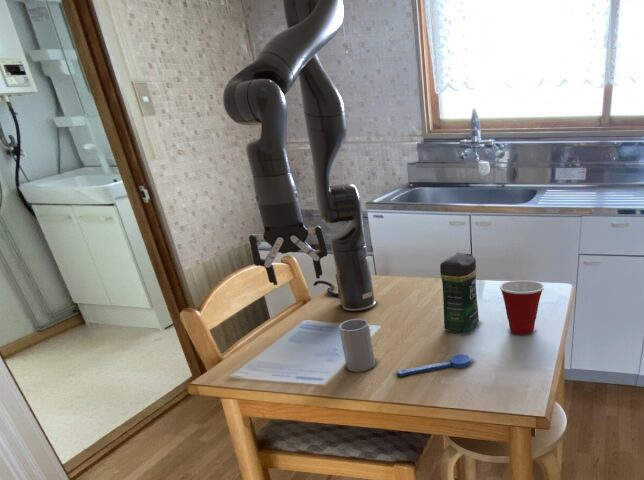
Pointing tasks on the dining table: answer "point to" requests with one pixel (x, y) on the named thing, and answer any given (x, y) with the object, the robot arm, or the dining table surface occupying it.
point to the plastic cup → (521, 304)
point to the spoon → (439, 365)
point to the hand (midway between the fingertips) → (297, 280)
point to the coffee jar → (459, 293)
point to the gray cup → (357, 344)
